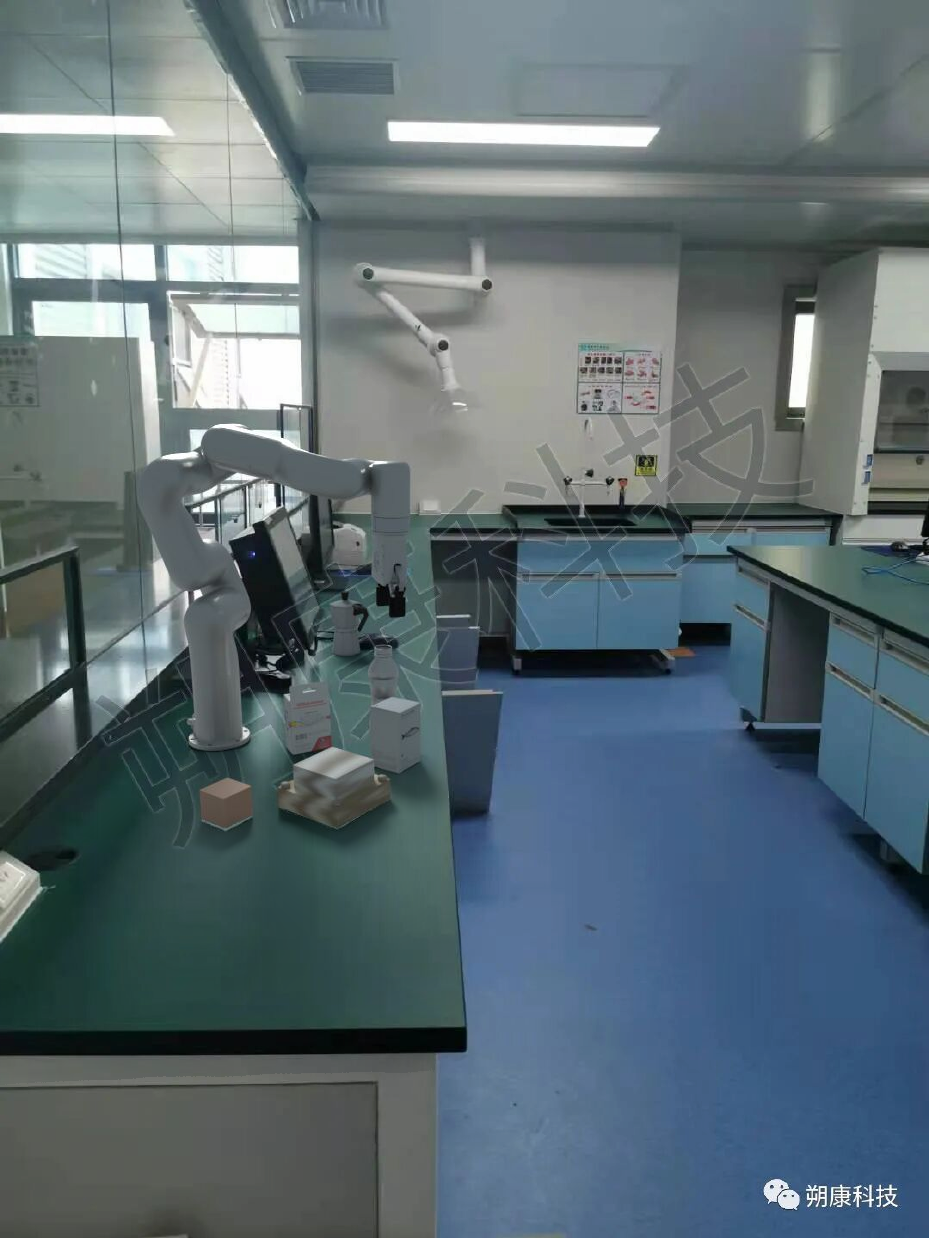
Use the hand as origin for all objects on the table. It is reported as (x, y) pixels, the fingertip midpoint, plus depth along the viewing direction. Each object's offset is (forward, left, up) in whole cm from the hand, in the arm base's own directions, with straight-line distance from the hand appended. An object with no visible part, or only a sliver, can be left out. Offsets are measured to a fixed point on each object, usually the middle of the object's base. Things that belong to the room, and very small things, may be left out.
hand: (390, 611), depth 166 cm
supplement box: (+5, -5, -30) cm, 31 cm away
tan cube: (-4, -40, -30) cm, 50 cm away
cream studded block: (+7, -25, -30) cm, 39 cm away
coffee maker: (-55, +49, -30) cm, 80 cm away
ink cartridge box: (-15, -9, -30) cm, 35 cm away
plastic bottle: (-6, +5, -30) cm, 31 cm away
